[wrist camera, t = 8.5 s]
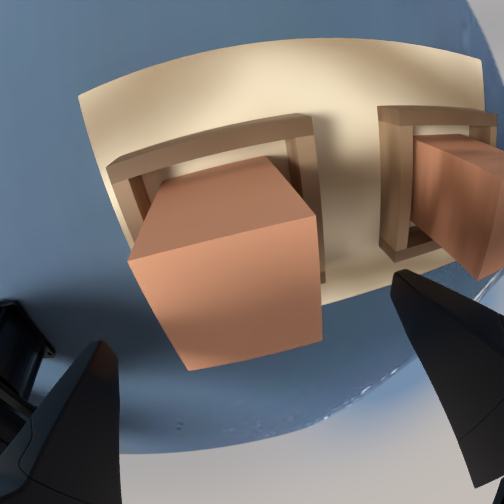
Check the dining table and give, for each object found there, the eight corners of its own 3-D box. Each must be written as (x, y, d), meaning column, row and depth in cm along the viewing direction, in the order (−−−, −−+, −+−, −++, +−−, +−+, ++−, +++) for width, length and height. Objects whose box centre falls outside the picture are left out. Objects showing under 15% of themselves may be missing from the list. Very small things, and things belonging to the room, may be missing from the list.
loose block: (280, 243, 16) (322, 340, 10) (191, 265, 16) (188, 370, 10) (265, 155, 13) (315, 215, 7) (162, 180, 13) (127, 261, 7)
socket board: (456, 247, 20) (517, 307, 13) (176, 323, 20) (173, 431, 13) (466, 58, 12) (562, 76, 4) (89, 95, 11) (-19, 113, 4)
